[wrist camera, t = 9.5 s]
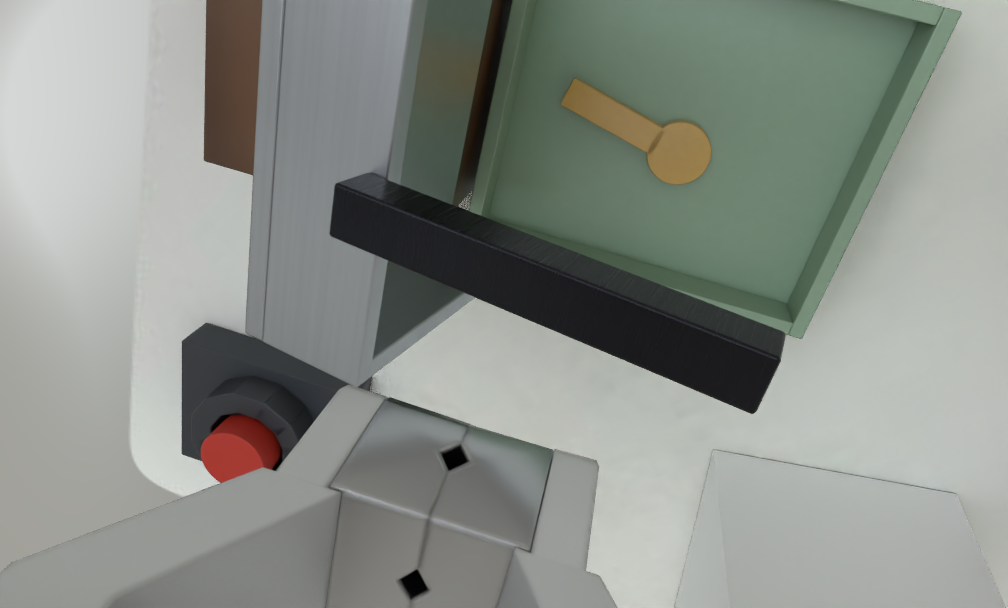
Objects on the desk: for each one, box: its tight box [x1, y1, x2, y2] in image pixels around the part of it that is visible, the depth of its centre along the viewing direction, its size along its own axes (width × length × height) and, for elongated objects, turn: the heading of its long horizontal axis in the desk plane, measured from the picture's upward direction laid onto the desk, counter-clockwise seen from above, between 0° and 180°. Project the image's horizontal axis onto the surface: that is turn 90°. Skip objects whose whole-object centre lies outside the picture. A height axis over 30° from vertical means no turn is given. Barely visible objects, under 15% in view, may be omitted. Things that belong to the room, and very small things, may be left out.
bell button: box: [201, 414, 281, 483], centre depth 37 cm, size 4×4×2 cm
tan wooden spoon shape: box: [561, 77, 711, 185], centre depth 29 cm, size 7×3×1 cm, turn 64°
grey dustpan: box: [245, 0, 785, 414], centre depth 18 cm, size 11×10×12 cm
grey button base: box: [182, 323, 371, 471], centre depth 39 cm, size 10×8×4 cm
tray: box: [469, 0, 962, 339], centre depth 28 cm, size 15×13×2 cm
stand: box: [204, 0, 512, 206], centre depth 28 cm, size 10×10×6 cm
